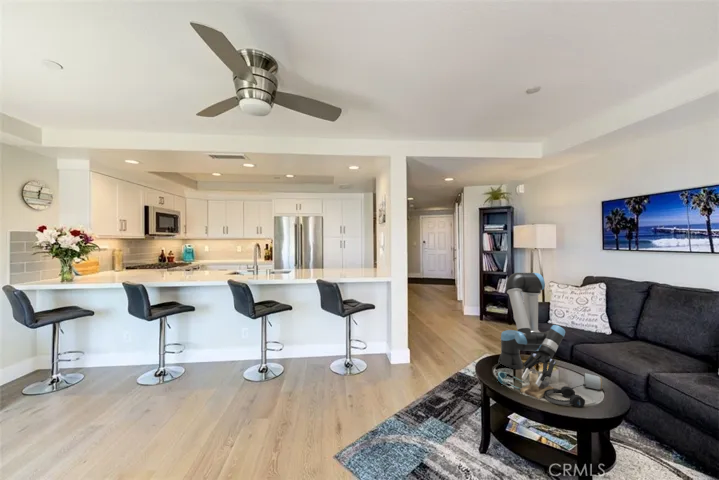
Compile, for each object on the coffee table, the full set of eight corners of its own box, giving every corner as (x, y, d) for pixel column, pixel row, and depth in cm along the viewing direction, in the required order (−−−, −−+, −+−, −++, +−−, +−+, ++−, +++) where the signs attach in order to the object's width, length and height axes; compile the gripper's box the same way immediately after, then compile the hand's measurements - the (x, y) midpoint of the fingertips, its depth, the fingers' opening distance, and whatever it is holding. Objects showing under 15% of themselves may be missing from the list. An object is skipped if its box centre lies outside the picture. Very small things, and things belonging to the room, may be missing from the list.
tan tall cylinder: (528, 389, 169) (527, 367, 169) (531, 387, 171) (531, 365, 172) (536, 392, 165) (536, 369, 166) (540, 390, 168) (539, 367, 168)
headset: (592, 388, 152) (549, 390, 155) (594, 408, 151) (552, 408, 155) (577, 377, 165) (538, 378, 168) (580, 395, 164) (541, 396, 168)
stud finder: (534, 385, 174) (534, 381, 174) (539, 382, 177) (539, 378, 177) (543, 388, 170) (543, 384, 170) (548, 386, 173) (548, 381, 173)
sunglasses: (498, 376, 190) (499, 368, 190) (525, 385, 182) (526, 377, 182) (495, 384, 178) (496, 376, 178) (523, 394, 170) (524, 386, 170)
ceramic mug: (602, 392, 169) (602, 378, 169) (584, 388, 173) (584, 375, 174) (600, 385, 178) (599, 372, 178) (582, 382, 182) (582, 369, 183)
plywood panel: (520, 391, 169) (520, 389, 169) (535, 383, 180) (535, 381, 180) (539, 399, 161) (539, 396, 161) (553, 390, 171) (553, 387, 171)
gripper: (569, 358, 166) (551, 393, 159) (534, 347, 185) (516, 378, 177) (563, 350, 164) (544, 385, 157) (528, 340, 183) (510, 371, 175)
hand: (530, 381), depth 167 cm, fingers open, 8 cm apart
